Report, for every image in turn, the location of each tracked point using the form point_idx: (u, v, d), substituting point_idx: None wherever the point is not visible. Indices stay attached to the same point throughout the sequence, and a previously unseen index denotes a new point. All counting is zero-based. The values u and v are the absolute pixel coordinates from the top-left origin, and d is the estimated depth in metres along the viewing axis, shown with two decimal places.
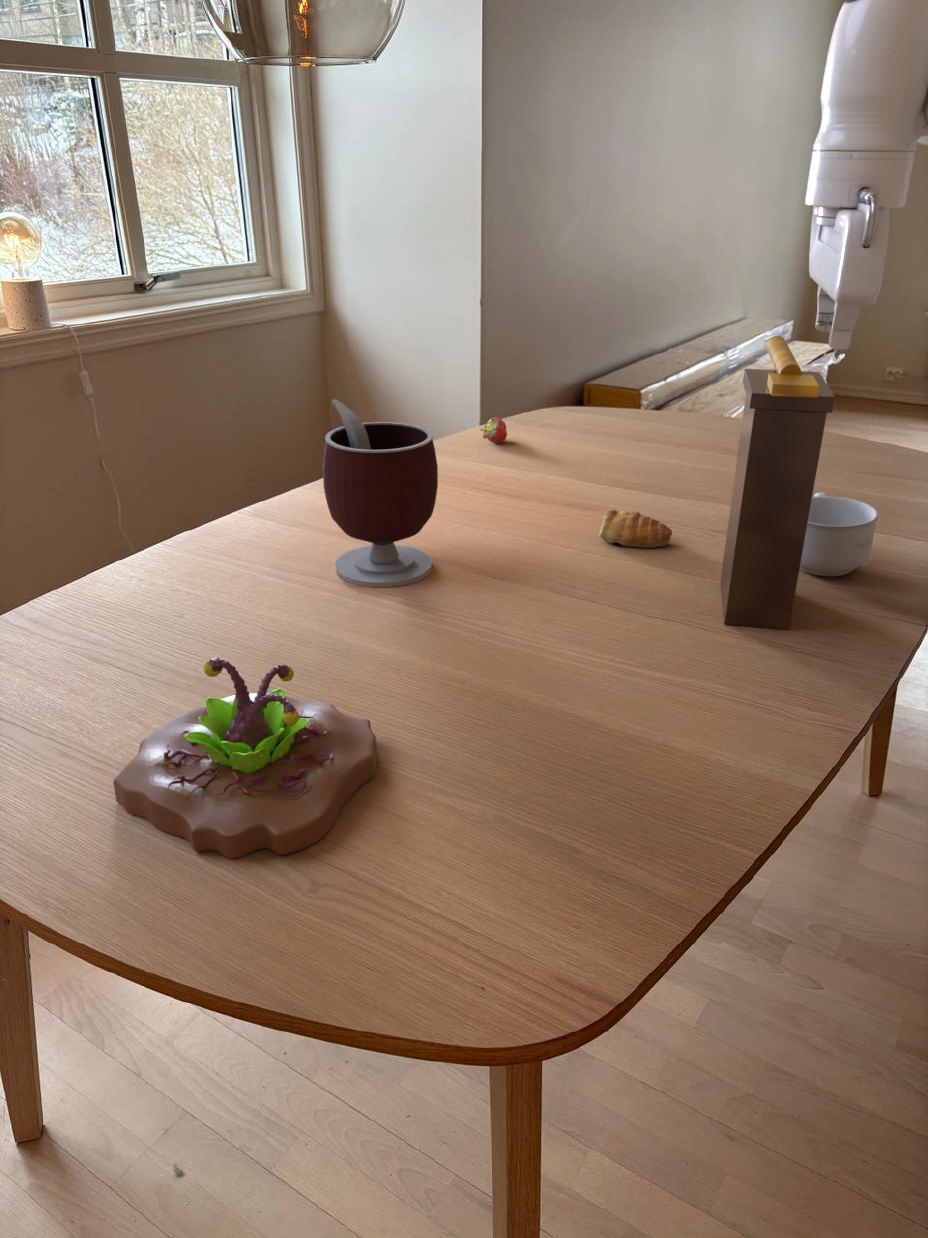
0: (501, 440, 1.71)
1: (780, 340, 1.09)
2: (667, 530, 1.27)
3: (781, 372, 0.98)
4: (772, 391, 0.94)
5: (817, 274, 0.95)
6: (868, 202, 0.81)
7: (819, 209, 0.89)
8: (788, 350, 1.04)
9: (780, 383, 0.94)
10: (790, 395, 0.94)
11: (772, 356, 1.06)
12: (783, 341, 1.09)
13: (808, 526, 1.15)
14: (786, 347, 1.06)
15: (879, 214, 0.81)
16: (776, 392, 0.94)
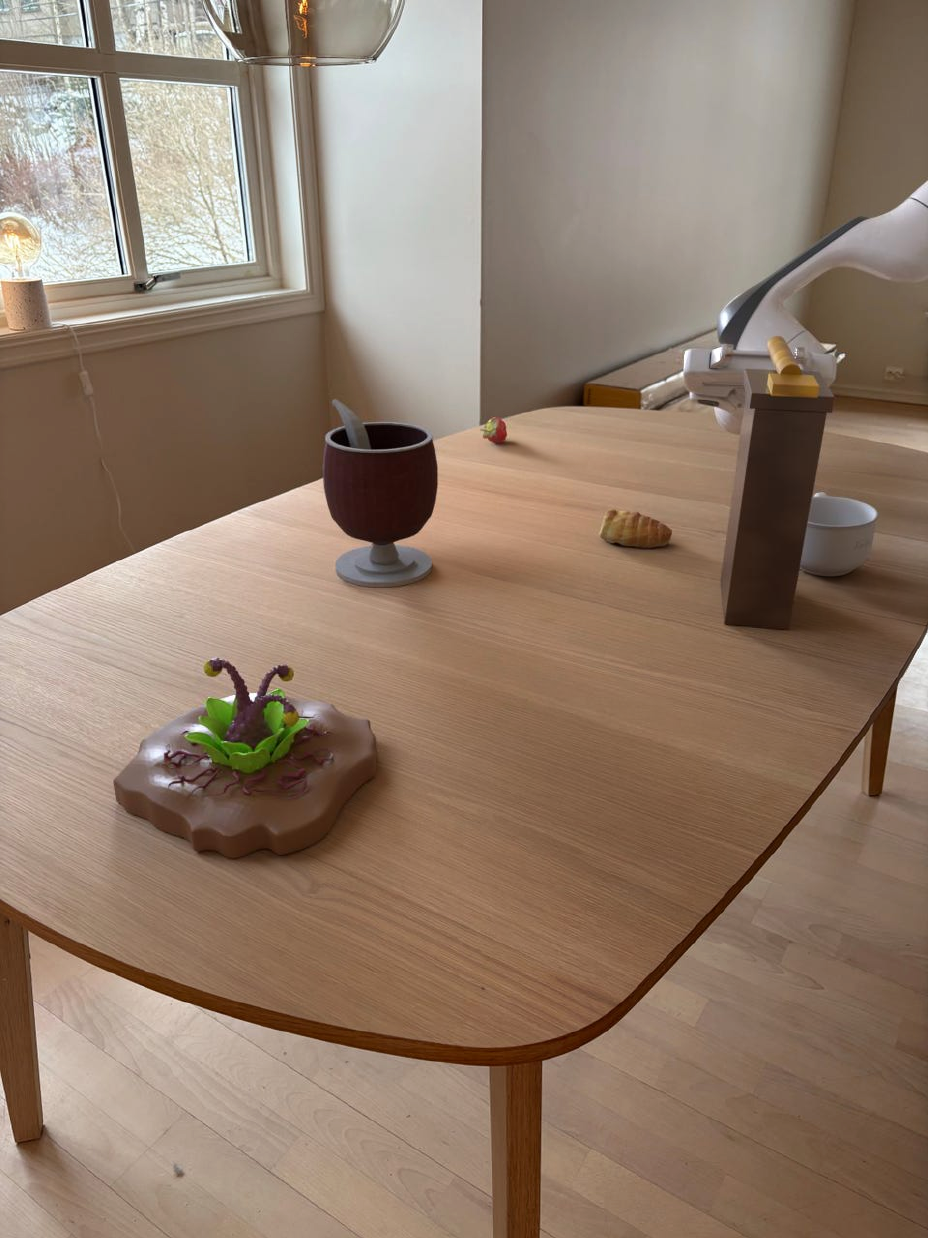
0: (501, 440, 1.71)
1: (780, 340, 1.09)
2: (667, 530, 1.27)
3: (781, 372, 0.98)
4: (772, 391, 0.94)
5: None
6: None
7: None
8: (788, 350, 1.04)
9: (780, 383, 0.94)
10: (790, 395, 0.94)
11: (772, 356, 1.06)
12: (783, 341, 1.09)
13: (808, 526, 1.15)
14: (786, 347, 1.06)
15: None
16: (776, 392, 0.94)
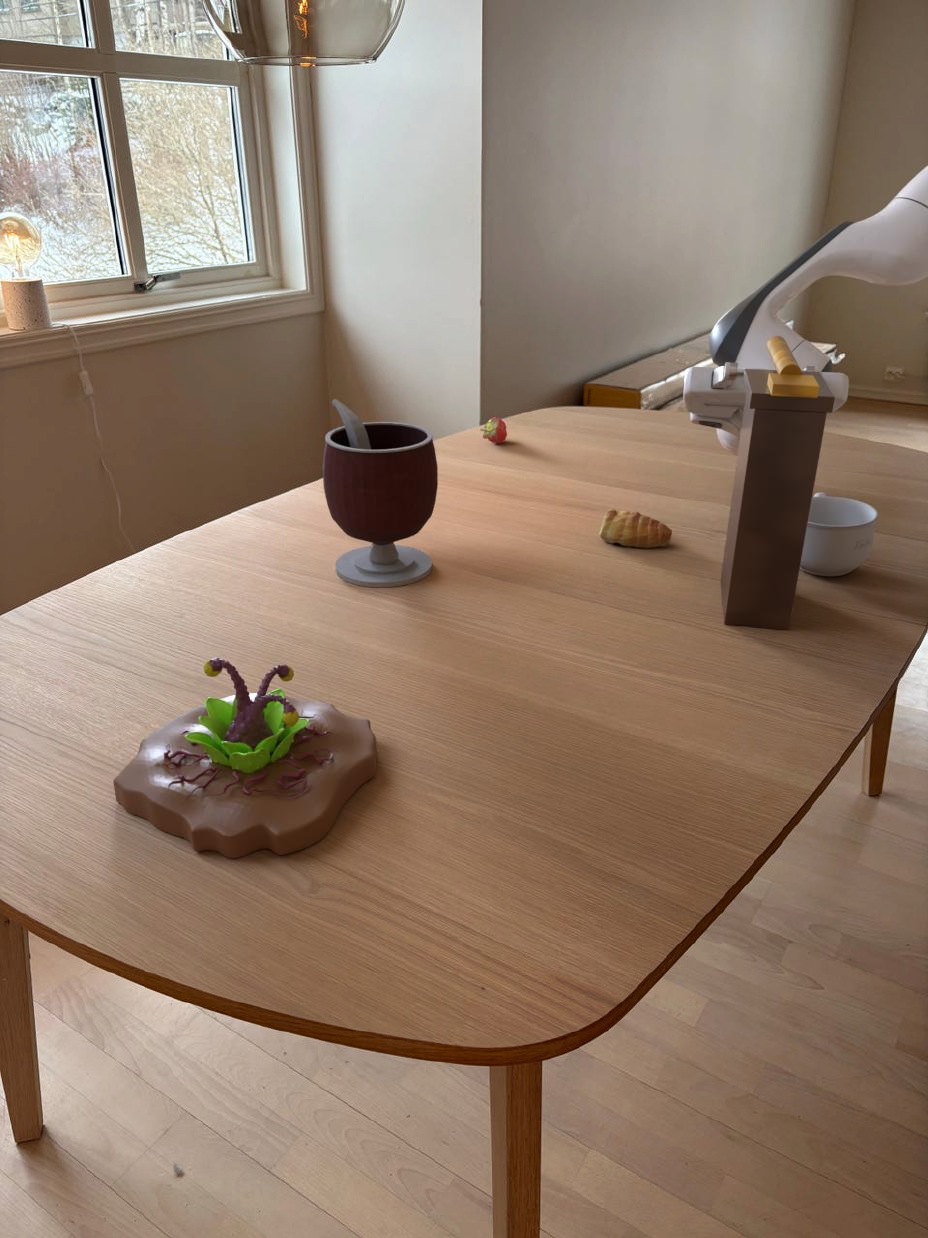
0: (501, 440, 1.71)
1: (780, 340, 1.09)
2: (667, 530, 1.27)
3: (781, 372, 0.98)
4: (772, 391, 0.94)
5: None
6: None
7: None
8: (788, 350, 1.04)
9: (780, 383, 0.94)
10: (790, 395, 0.94)
11: (772, 356, 1.06)
12: (783, 341, 1.09)
13: (808, 526, 1.15)
14: (786, 347, 1.06)
15: None
16: (776, 392, 0.94)
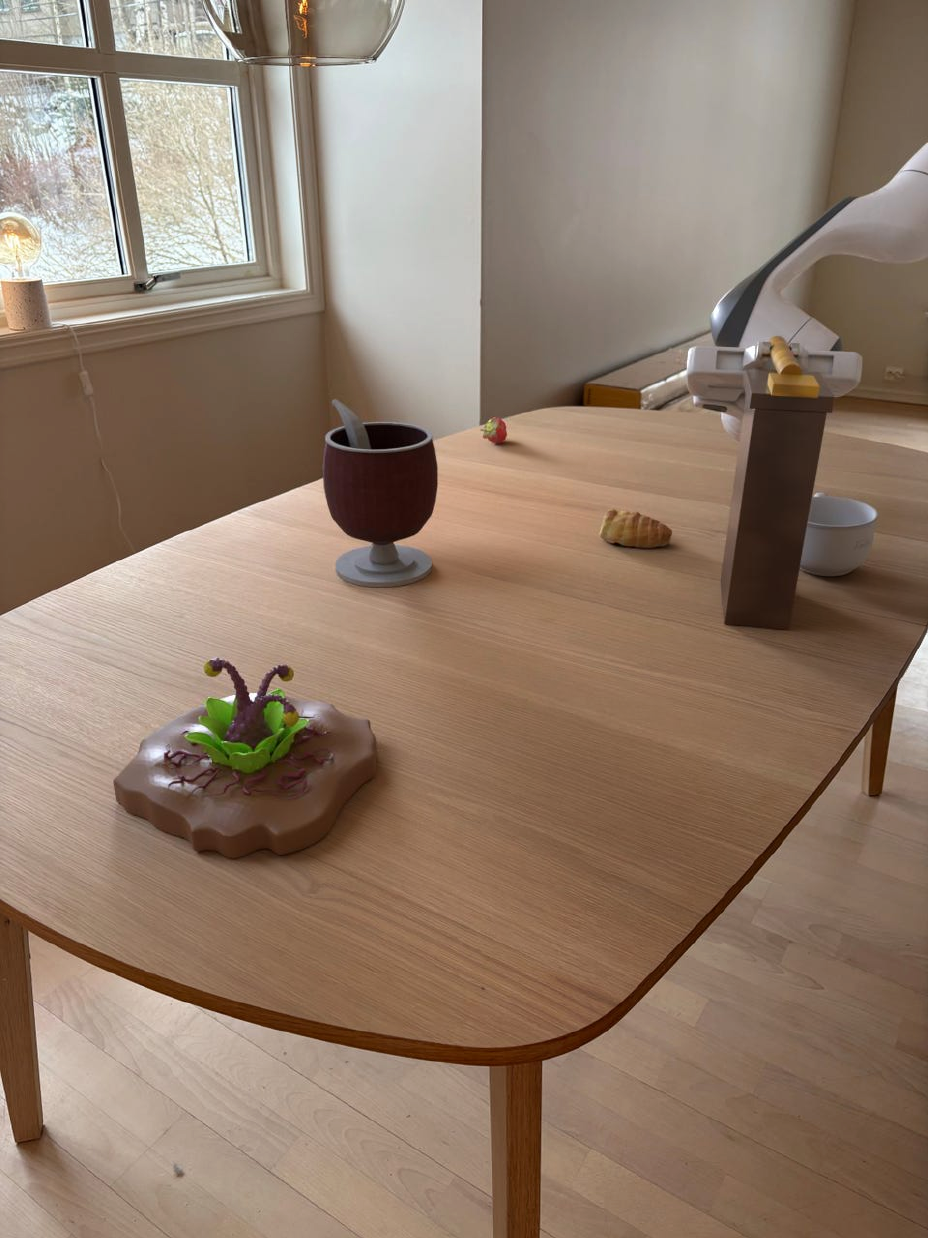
0: (501, 440, 1.71)
1: (780, 340, 1.09)
2: (667, 530, 1.27)
3: (781, 372, 0.98)
4: (772, 391, 0.94)
5: None
6: None
7: None
8: (788, 350, 1.04)
9: (780, 383, 0.94)
10: (790, 395, 0.94)
11: (772, 356, 1.06)
12: (783, 341, 1.09)
13: (808, 526, 1.15)
14: (786, 347, 1.06)
15: None
16: (776, 392, 0.94)
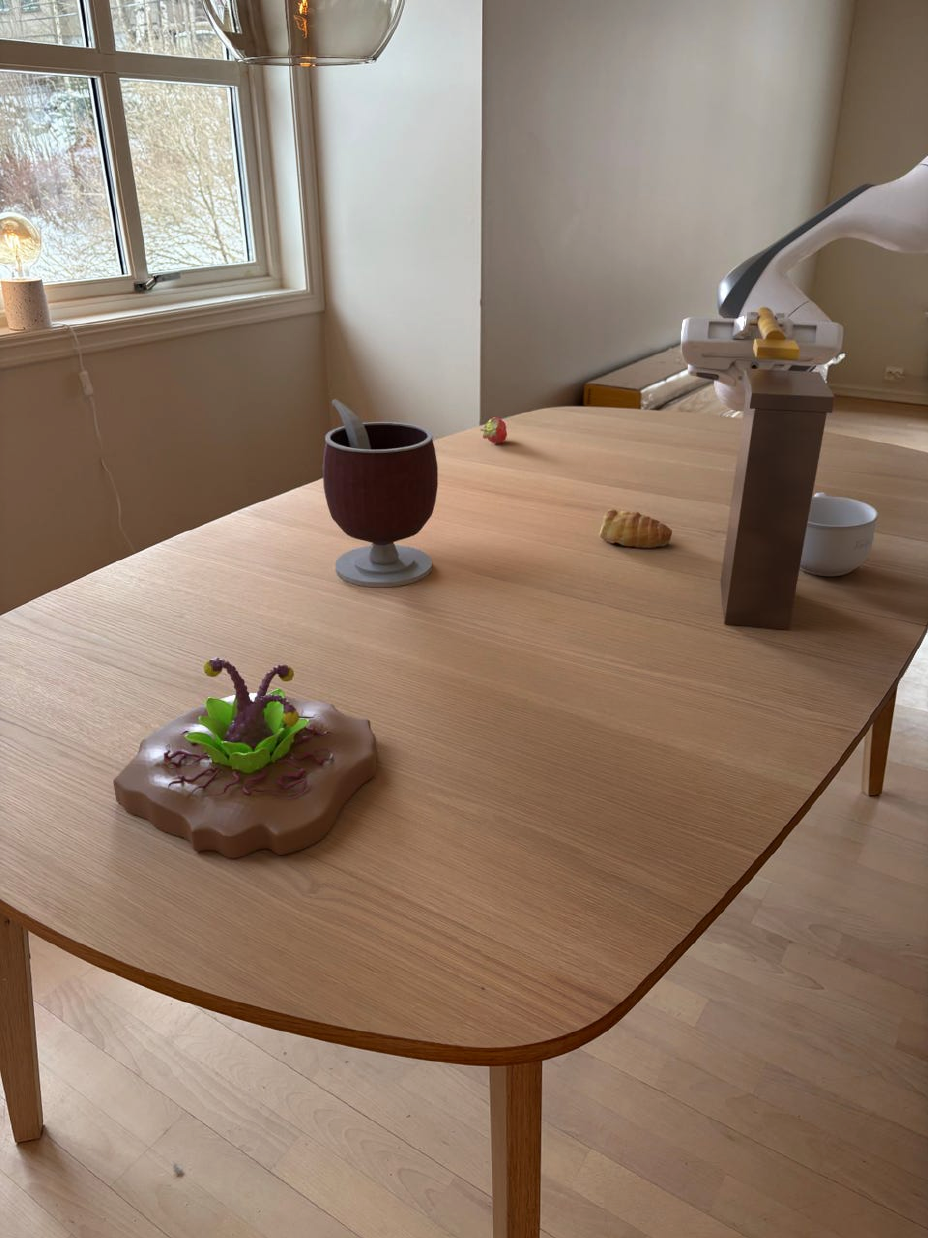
0: (501, 440, 1.71)
1: (767, 310, 1.19)
2: (667, 530, 1.27)
3: (766, 337, 1.07)
4: (757, 353, 1.03)
5: None
6: None
7: None
8: (774, 319, 1.14)
9: (764, 346, 1.03)
10: (773, 357, 1.03)
11: (759, 324, 1.15)
12: (770, 311, 1.19)
13: (808, 526, 1.15)
14: (772, 316, 1.15)
15: None
16: (760, 354, 1.03)
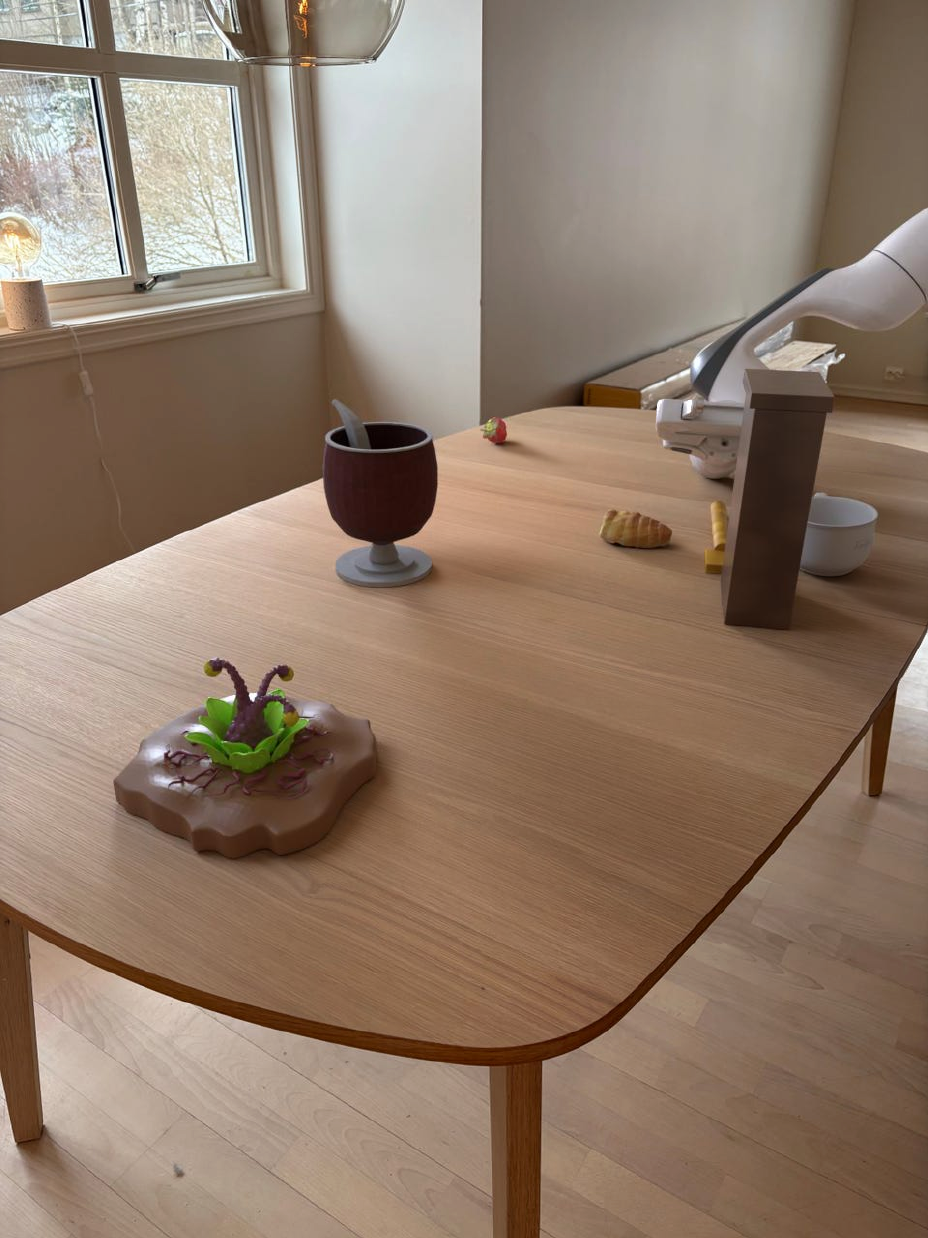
0: (501, 440, 1.71)
1: (720, 507, 1.35)
2: (667, 530, 1.27)
3: (715, 548, 1.23)
4: (706, 569, 1.20)
5: None
6: None
7: None
8: (724, 522, 1.30)
9: (712, 563, 1.20)
10: (720, 572, 1.20)
11: (712, 525, 1.31)
12: (722, 508, 1.35)
13: (808, 526, 1.15)
14: (723, 518, 1.31)
15: None
16: (709, 570, 1.20)
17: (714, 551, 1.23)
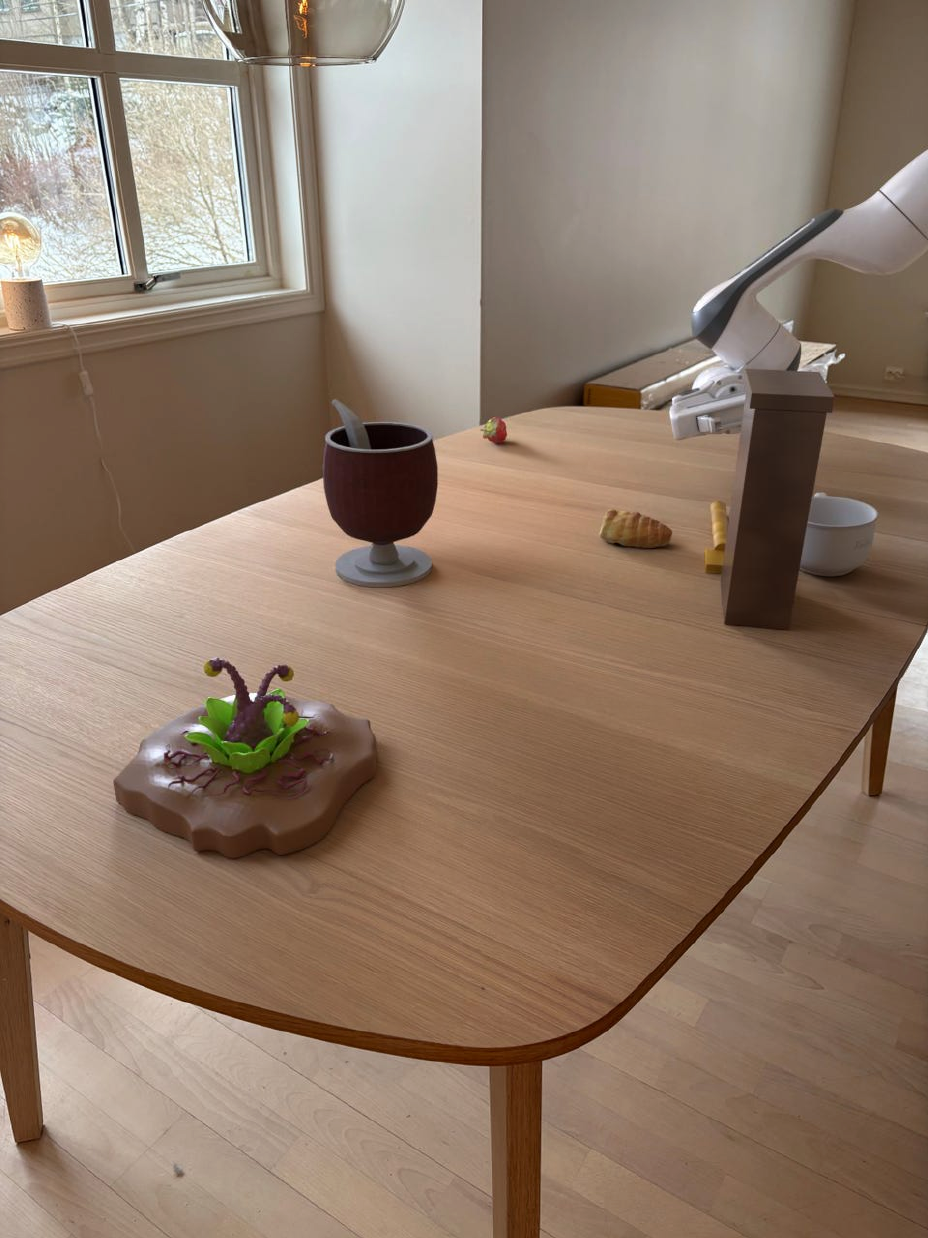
0: (501, 440, 1.71)
1: (720, 507, 1.35)
2: (667, 530, 1.27)
3: (715, 548, 1.23)
4: (706, 569, 1.20)
5: (719, 403, 1.36)
6: None
7: (734, 383, 1.41)
8: (724, 522, 1.30)
9: (712, 563, 1.20)
10: (720, 572, 1.20)
11: (712, 525, 1.31)
12: (722, 508, 1.35)
13: (808, 526, 1.15)
14: (723, 518, 1.31)
15: None
16: (709, 570, 1.20)
17: (714, 551, 1.23)
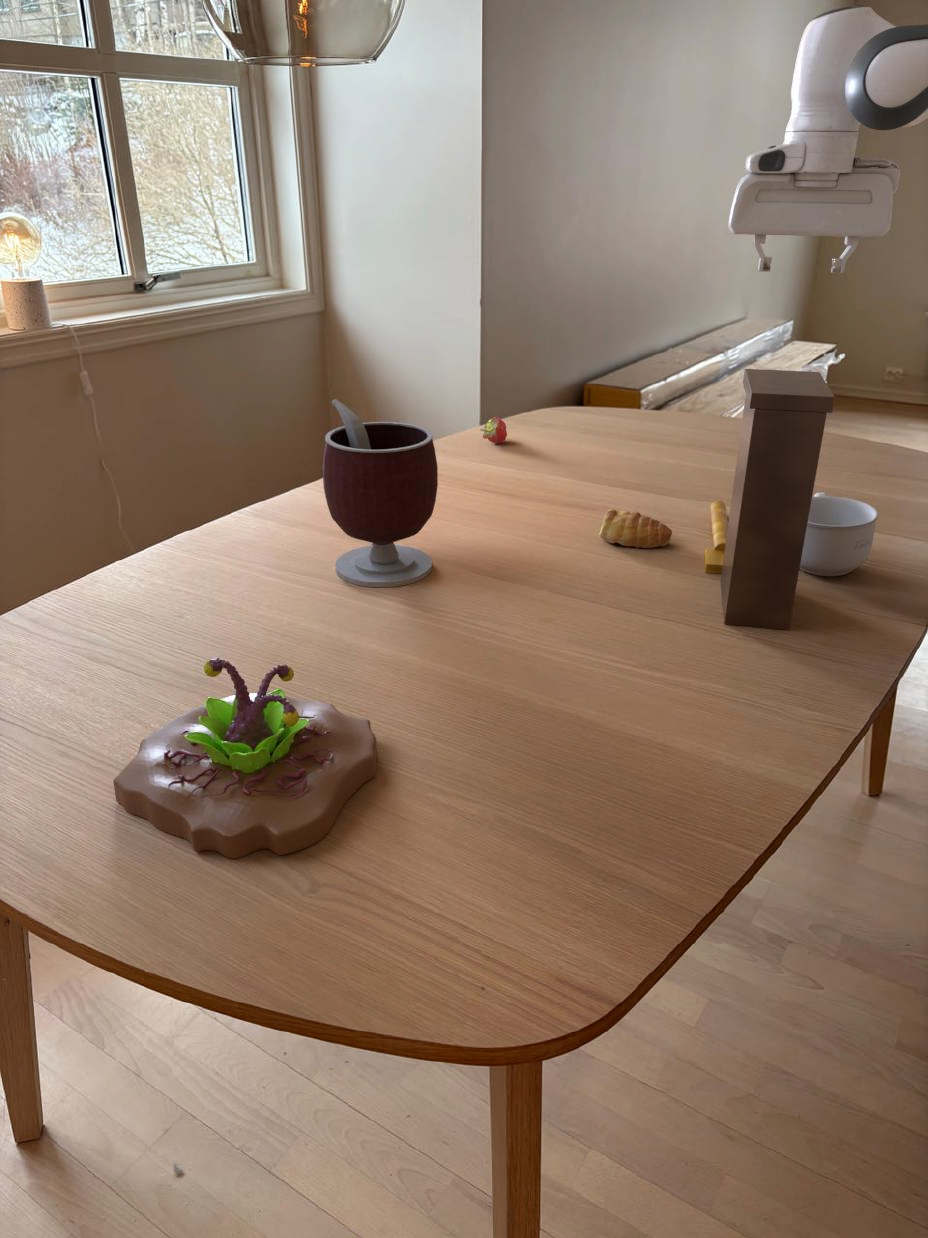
0: (501, 440, 1.71)
1: (720, 507, 1.35)
2: (667, 530, 1.27)
3: (715, 548, 1.23)
4: (706, 569, 1.20)
5: (784, 226, 1.24)
6: (888, 166, 1.20)
7: (822, 175, 1.20)
8: (724, 522, 1.30)
9: (712, 563, 1.20)
10: (720, 572, 1.20)
11: (712, 525, 1.31)
12: (722, 508, 1.35)
13: (808, 526, 1.15)
14: (723, 518, 1.31)
15: None
16: (709, 570, 1.20)
17: (714, 551, 1.23)
